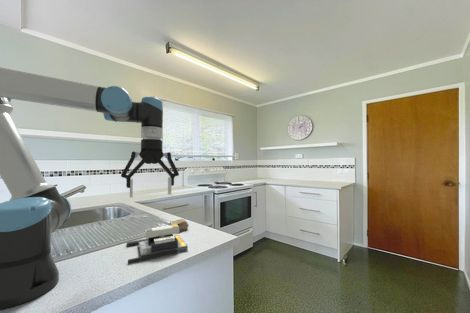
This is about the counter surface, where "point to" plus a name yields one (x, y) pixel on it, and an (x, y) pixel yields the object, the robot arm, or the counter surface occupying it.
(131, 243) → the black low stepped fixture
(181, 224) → the stone
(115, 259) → the counter surface
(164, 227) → the breaker lever
